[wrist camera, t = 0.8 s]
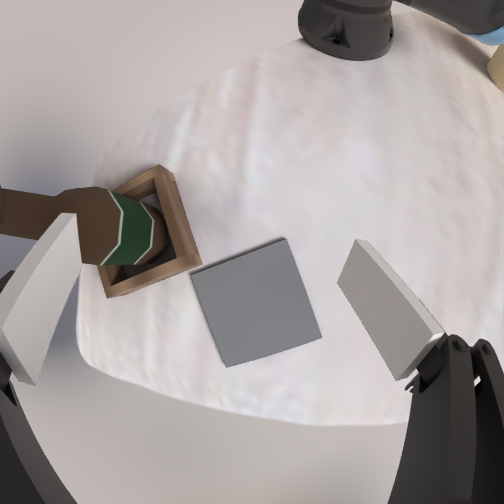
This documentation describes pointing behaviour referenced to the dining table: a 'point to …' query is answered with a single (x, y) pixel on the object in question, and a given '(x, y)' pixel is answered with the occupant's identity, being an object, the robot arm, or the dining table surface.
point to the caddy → (177, 228)
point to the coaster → (256, 305)
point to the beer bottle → (90, 223)
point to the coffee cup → (497, 67)
